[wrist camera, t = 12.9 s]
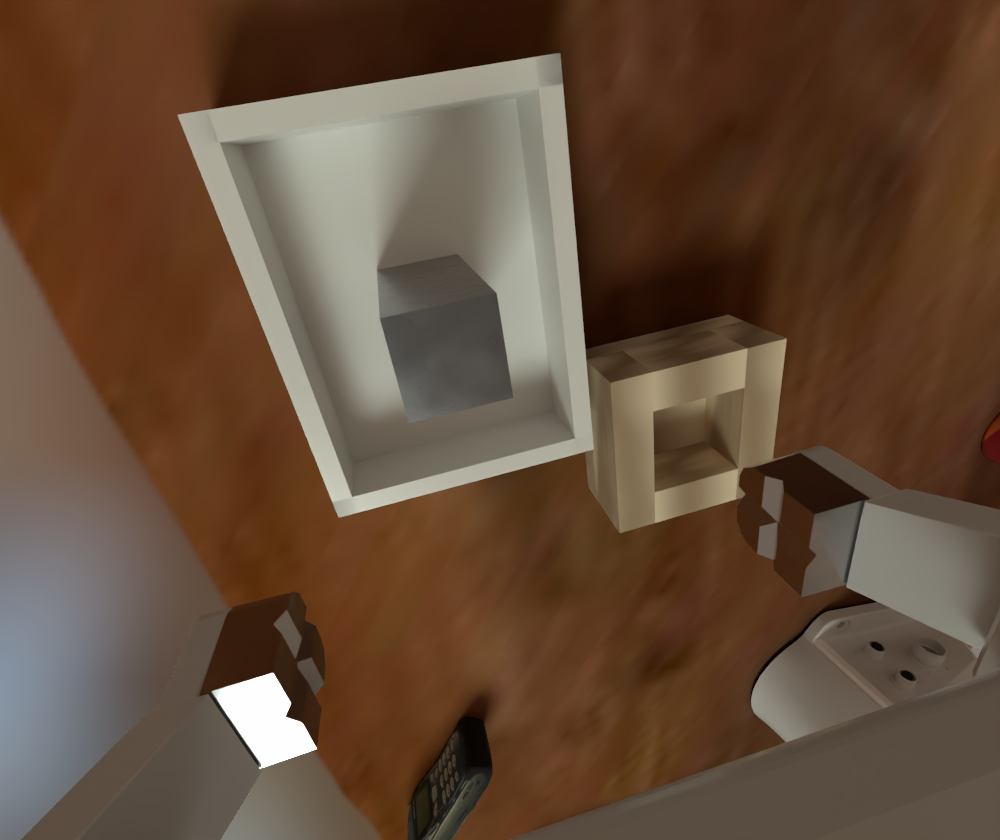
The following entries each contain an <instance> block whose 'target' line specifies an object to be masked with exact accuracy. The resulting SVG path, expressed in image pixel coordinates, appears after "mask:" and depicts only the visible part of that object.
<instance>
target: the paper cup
mask: <svg viewBox="0 0 1000 840" xmlns="http://www.w3.org/2000/svg"><path fill="white" fill-rule="evenodd" d="M981 450H982V453H983V455H984V456H986V457H987V458H989V459H990V460H992V461H994V462H995V463H997V464H999V465H1000V414H999V415H998V416H997V417H996V418H995V419H994V420H993V421H992V423H991V424H990V425H989V427H988V428H987V430H986V432H985V434H984V436H983V439H982V443H981Z"/></svg>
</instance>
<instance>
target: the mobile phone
mask: <svg viewBox="0 0 1000 840" xmlns="http://www.w3.org/2000/svg"><path fill="white" fill-rule="evenodd" d="M491 776H492V760H491V754H490V748H489V743H488V739H487V734H486V730H485V726H484V725H483V723H482V722H481V721H479V720H477V719H473V718H464V719H463V720H462V721H460V723H459V724H458V726H457V727H456V729H455V731H454V733H453V734H452V736H451V738H450V740H449V741H448V743H447V745H446V746H445V748H444V750H443V751H442V753H441V755H440V756H439V758H438V760H437V761H436V763H435V764H434V765H433V767H432V768H431V770H430V771H429V772H428V774H427V775H426V776H425V778H424V779H423V780H422V781H421V783H420V784H419V786H418V788H417V790H416V792H415V794H414V797H413V799H412V804H411V807H410V811H409V815H408V840H452V839H453V837H454V836H455V834H456V833H457V831H458V830H459V828H460V827H461V825H462V823H463V822H464V820H465V819H466V817H467V816H468V815H469V813H470V812H471V811H472V810H473V808H474V807H475V805H476V804H477V802H478V801H479V799H480V797H481V796H482V794H483V792H484V791H485V789H486V788H487V786H488V784H489V782H490V779H491Z"/></svg>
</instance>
